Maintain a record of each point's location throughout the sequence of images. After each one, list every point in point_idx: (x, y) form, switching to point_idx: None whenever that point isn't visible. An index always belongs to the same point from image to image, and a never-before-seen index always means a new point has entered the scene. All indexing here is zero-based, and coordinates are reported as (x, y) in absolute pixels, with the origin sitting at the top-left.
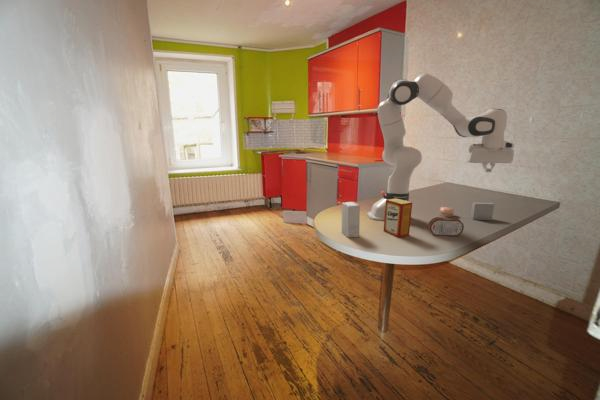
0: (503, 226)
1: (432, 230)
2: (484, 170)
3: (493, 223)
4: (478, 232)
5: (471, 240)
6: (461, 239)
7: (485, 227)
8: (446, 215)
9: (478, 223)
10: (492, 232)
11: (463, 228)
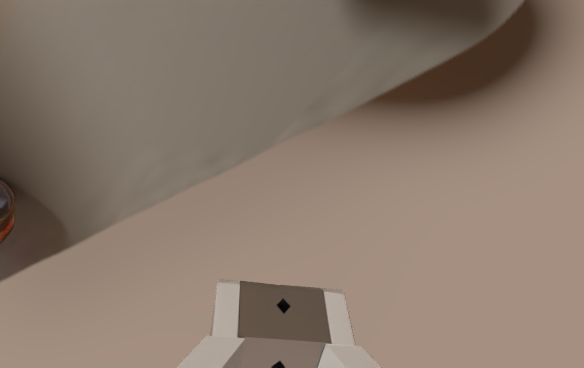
0: (388, 78)
1: None
2: (212, 322)
3: (378, 14)
4: (154, 158)
5: (55, 244)
6: None
7: (257, 86)
8: None
9: (269, 2)
10: (235, 163)
11: (9, 232)
